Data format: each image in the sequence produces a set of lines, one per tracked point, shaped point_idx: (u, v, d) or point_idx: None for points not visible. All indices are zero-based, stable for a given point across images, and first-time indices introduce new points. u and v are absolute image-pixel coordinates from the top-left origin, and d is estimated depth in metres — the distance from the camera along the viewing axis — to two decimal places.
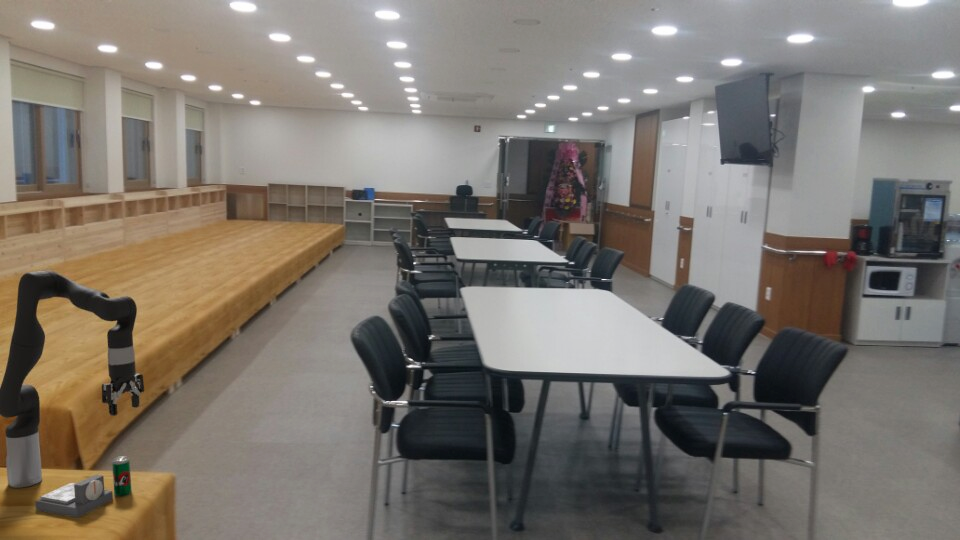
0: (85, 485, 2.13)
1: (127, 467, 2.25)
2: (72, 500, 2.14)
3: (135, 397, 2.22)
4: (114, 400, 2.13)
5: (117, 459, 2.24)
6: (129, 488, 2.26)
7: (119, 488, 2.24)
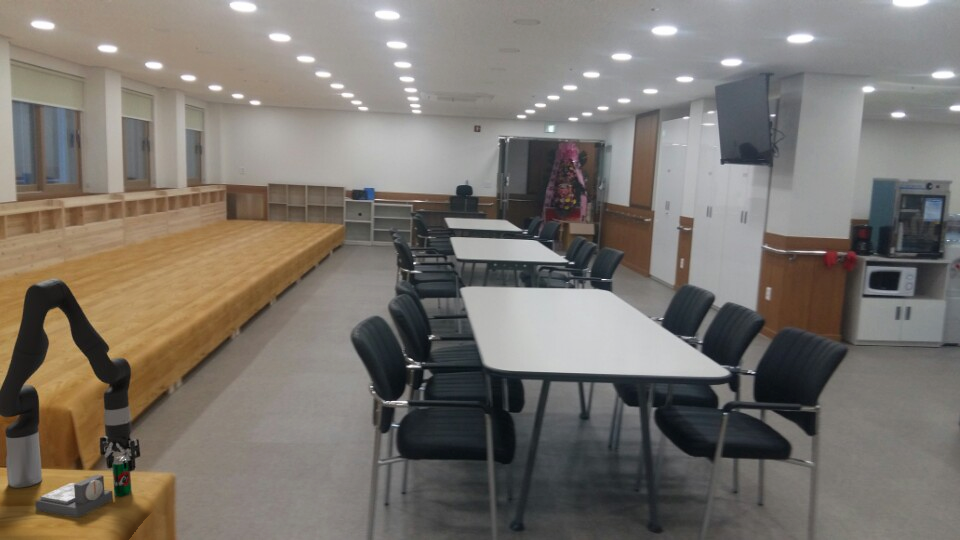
0: (85, 485, 2.13)
1: (127, 467, 2.25)
2: (72, 500, 2.14)
3: (112, 457, 2.27)
4: None
5: (117, 459, 2.24)
6: (129, 488, 2.26)
7: (119, 488, 2.24)
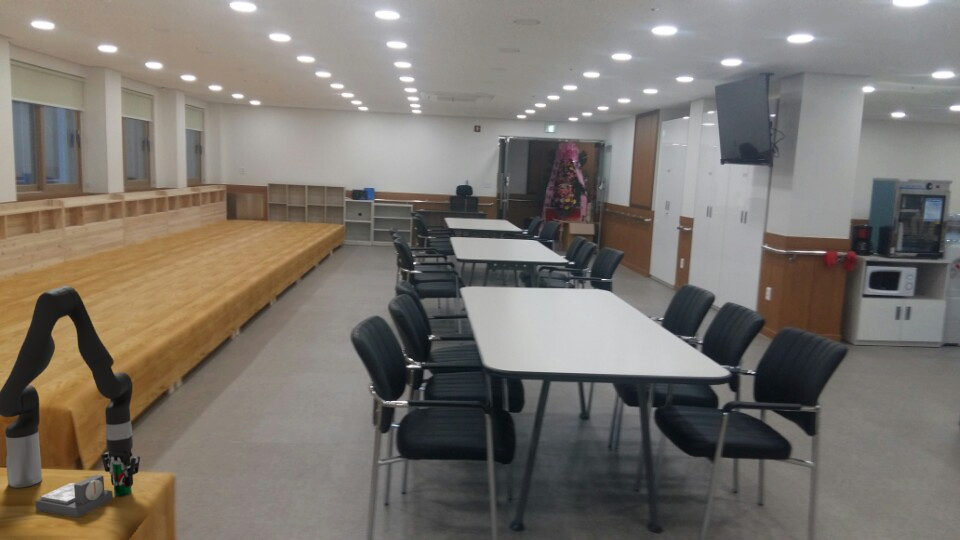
0: (85, 485, 2.13)
1: None
2: (72, 500, 2.14)
3: None
4: None
5: None
6: (129, 488, 2.26)
7: (119, 488, 2.24)
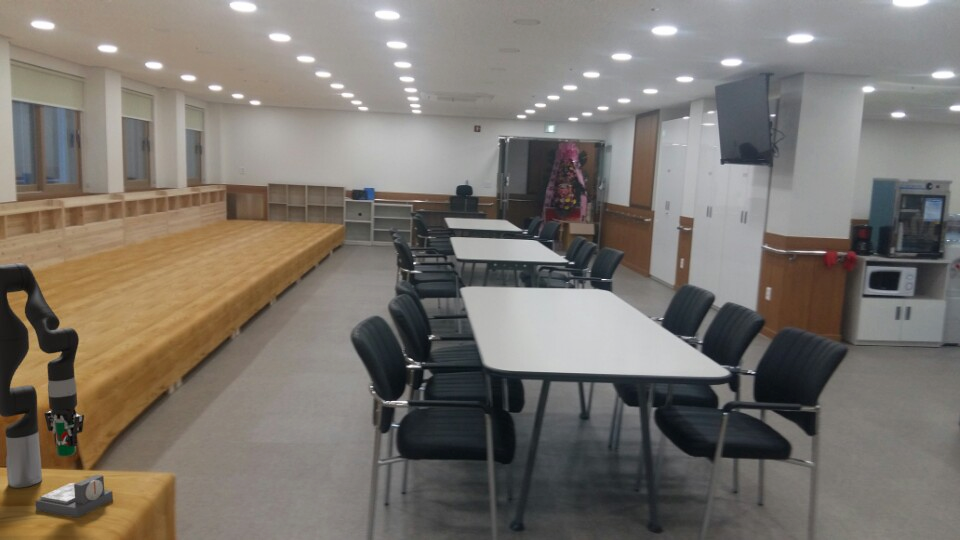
0: (85, 485, 2.13)
1: None
2: (72, 500, 2.14)
3: None
4: None
5: None
6: (73, 448, 2.17)
7: (62, 447, 2.15)
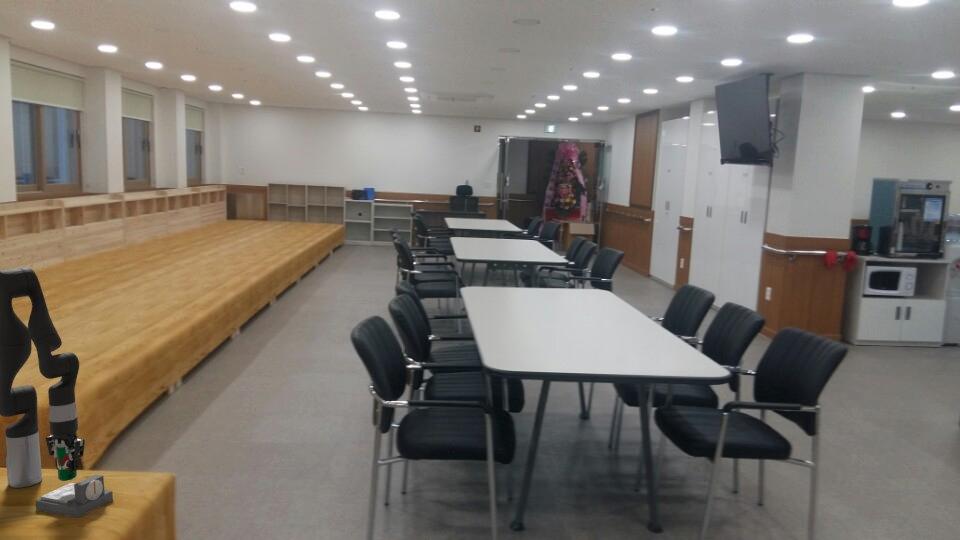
0: (85, 485, 2.13)
1: None
2: (72, 500, 2.14)
3: None
4: None
5: None
6: (74, 472, 2.18)
7: (63, 472, 2.15)
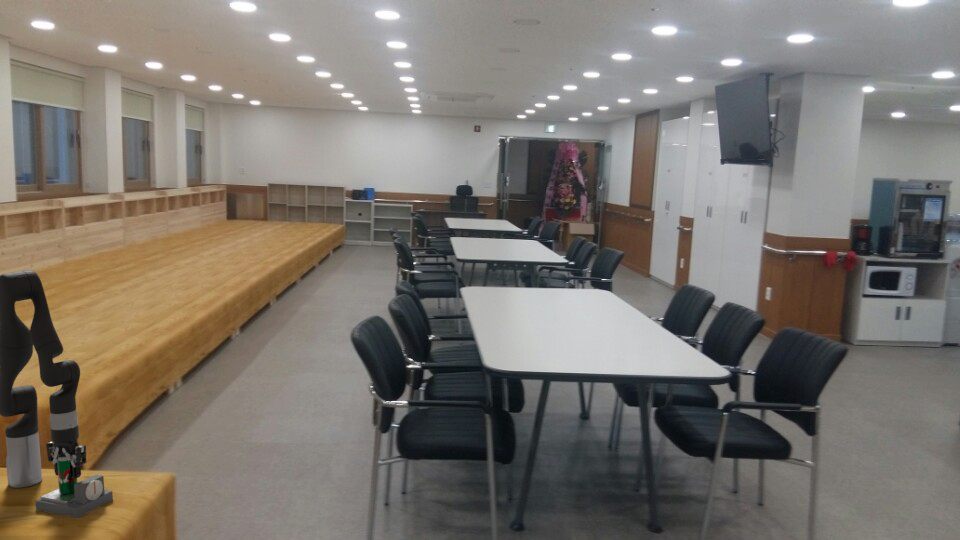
0: (85, 485, 2.13)
1: None
2: (72, 500, 2.14)
3: None
4: None
5: (62, 456, 2.17)
6: None
7: (64, 485, 2.16)
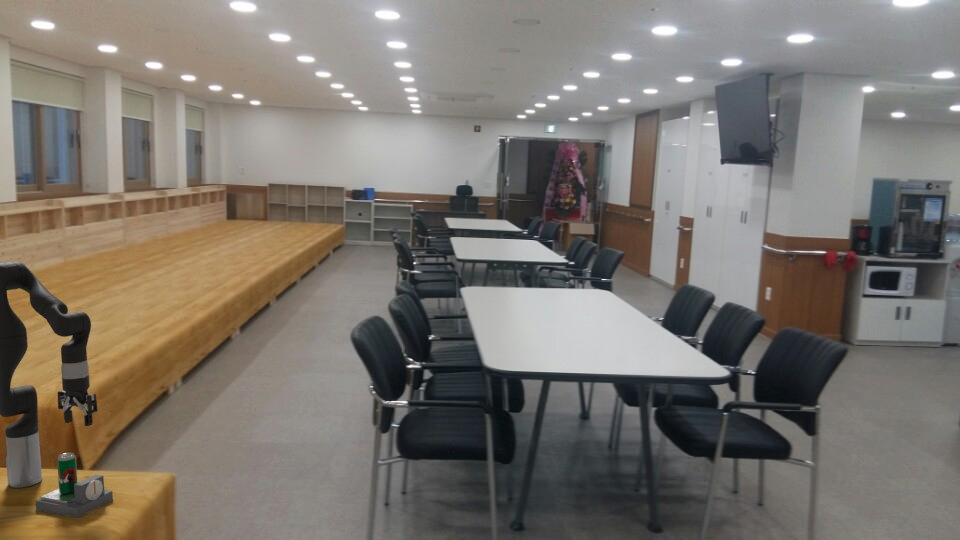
0: (85, 485, 2.13)
1: (73, 464, 2.17)
2: (72, 500, 2.14)
3: (70, 411, 2.25)
4: None
5: (62, 455, 2.17)
6: None
7: (64, 485, 2.16)
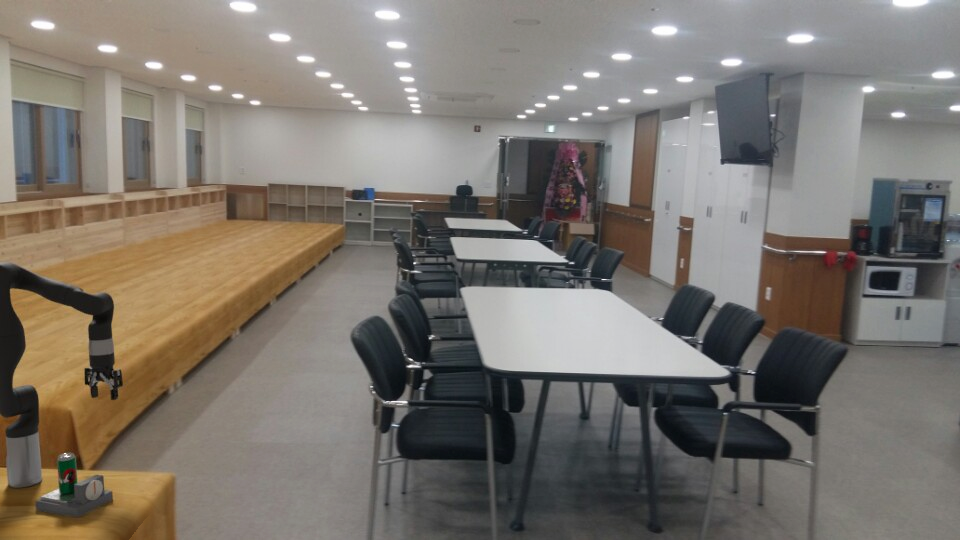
0: (85, 485, 2.13)
1: (73, 464, 2.17)
2: (72, 500, 2.14)
3: (96, 387, 2.38)
4: None
5: (62, 456, 2.17)
6: None
7: (64, 485, 2.16)
